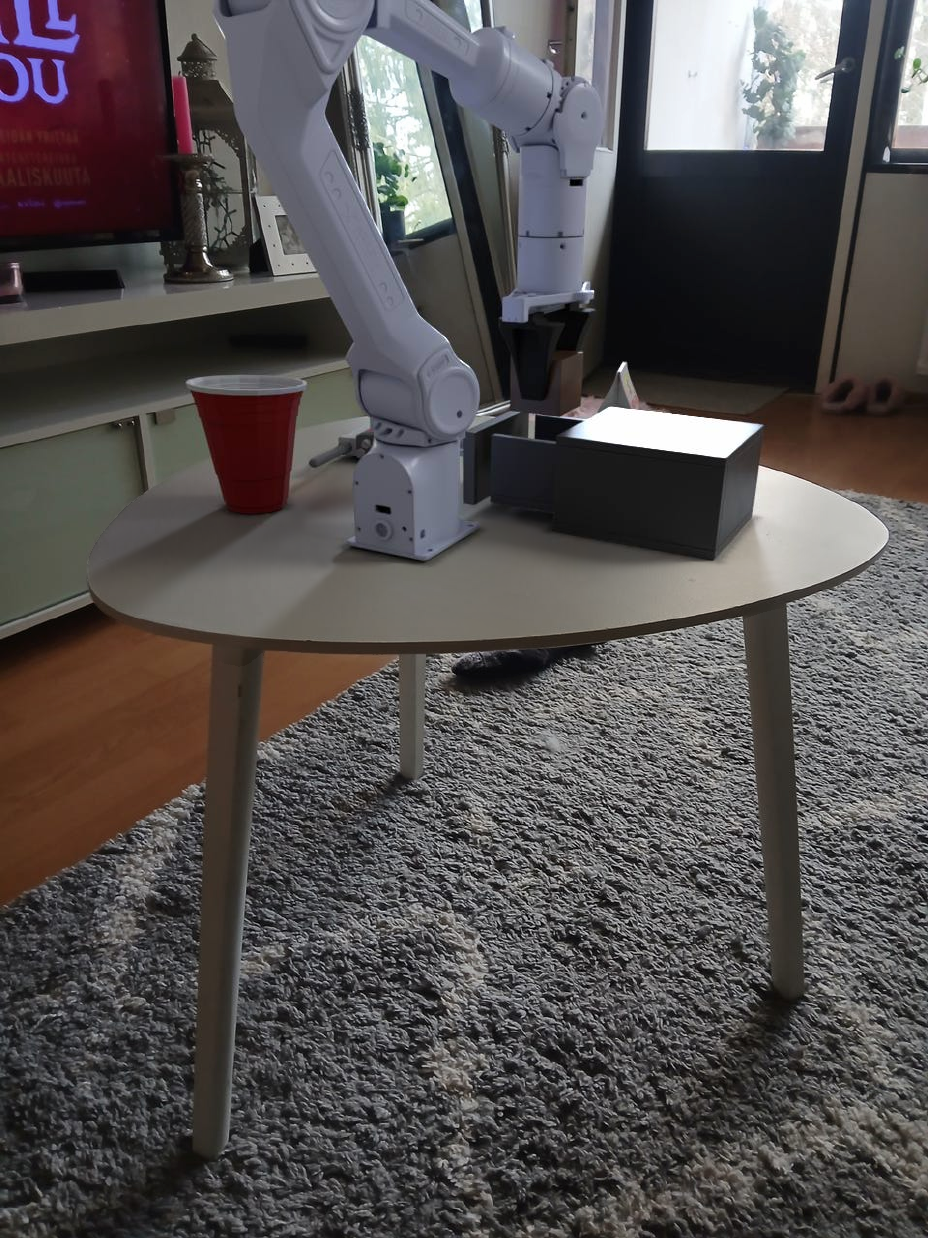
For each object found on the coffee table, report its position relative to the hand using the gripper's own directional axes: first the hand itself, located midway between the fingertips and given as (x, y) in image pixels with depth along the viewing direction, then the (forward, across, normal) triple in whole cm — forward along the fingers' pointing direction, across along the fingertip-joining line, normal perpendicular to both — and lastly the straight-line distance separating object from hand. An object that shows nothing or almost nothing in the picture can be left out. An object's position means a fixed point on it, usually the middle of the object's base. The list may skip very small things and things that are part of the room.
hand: (545, 393), depth 89 cm
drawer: (+9, -1, 0) cm, 9 cm away
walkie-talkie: (+10, +6, +22) cm, 25 cm away
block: (+1, 0, 0) cm, 1 cm away
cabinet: (+10, -1, -12) cm, 16 cm away
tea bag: (+11, +18, -1) cm, 21 cm away
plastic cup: (+10, -14, +23) cm, 29 cm away
